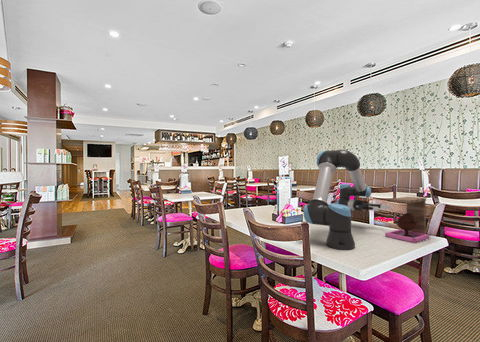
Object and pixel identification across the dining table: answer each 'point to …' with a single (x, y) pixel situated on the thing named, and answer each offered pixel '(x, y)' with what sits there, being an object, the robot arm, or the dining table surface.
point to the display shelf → (415, 211)
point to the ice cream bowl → (406, 223)
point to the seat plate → (415, 237)
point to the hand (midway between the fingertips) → (384, 208)
